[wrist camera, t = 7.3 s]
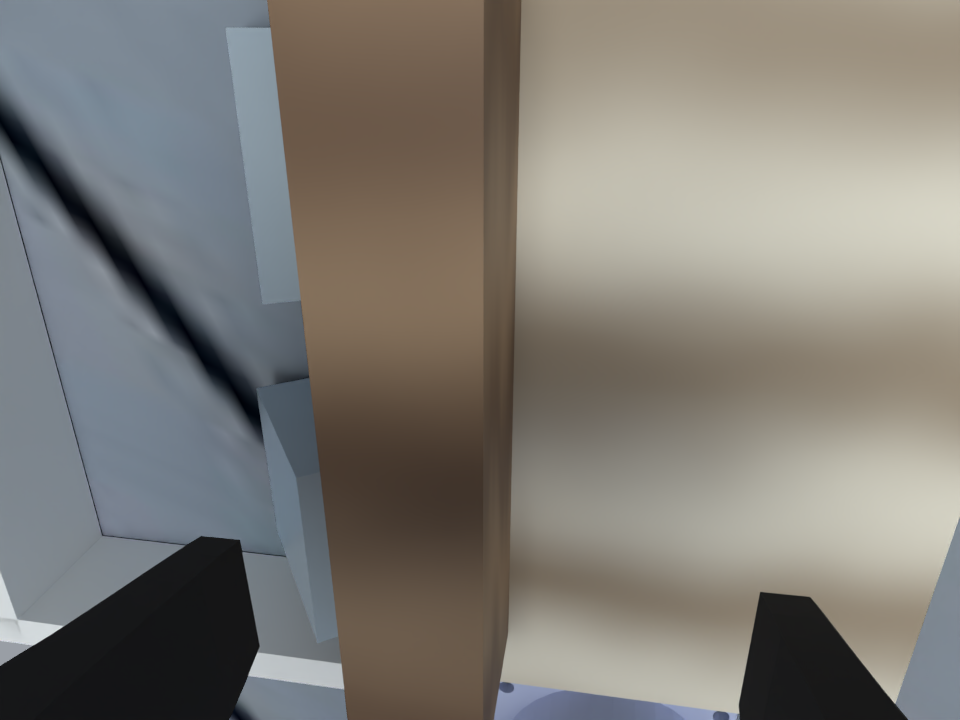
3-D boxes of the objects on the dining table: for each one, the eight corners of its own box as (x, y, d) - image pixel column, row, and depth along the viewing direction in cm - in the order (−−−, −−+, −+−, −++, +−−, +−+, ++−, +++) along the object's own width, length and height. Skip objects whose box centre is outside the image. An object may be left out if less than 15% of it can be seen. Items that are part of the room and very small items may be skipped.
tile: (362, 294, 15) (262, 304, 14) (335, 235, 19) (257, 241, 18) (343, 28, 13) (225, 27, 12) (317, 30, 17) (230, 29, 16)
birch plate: (850, 647, 22) (885, 733, 19) (435, 597, 24) (414, 669, 21) (1080, -135, 13) (1198, -178, 11) (413, -115, 15) (373, -147, 13)
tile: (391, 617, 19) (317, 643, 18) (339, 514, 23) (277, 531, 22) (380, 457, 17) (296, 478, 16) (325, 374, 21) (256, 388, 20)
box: (435, 597, 24) (405, 698, 20) (82, 555, 26) (-3, 640, 22) (413, -115, 15) (355, -161, 12) (-106, -99, 17) (-295, -135, 14)
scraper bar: (508, 632, 20) (482, 785, 16) (403, 619, 20) (352, 765, 16) (522, -18, 13) (483, -42, 9) (366, -15, 14) (263, -38, 10)
